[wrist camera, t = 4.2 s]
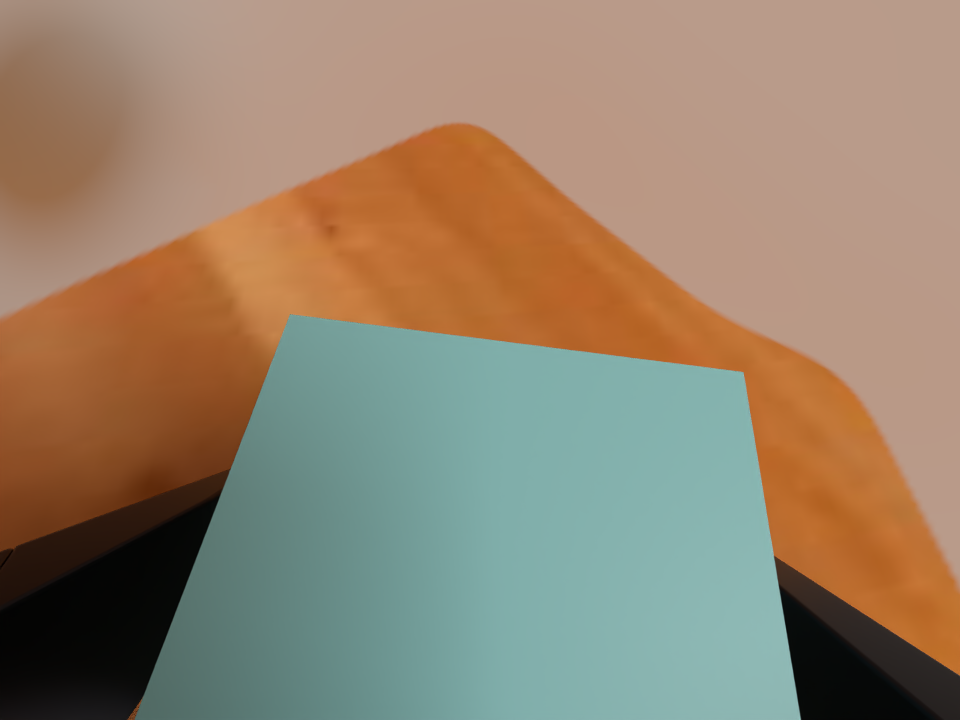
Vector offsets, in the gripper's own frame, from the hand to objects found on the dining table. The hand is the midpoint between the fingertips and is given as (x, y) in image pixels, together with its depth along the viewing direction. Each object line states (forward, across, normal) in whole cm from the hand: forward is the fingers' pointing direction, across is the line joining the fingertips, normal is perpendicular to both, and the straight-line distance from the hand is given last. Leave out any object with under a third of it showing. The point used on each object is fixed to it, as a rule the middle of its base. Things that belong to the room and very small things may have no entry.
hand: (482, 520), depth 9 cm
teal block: (+3, 0, +5) cm, 6 cm away
